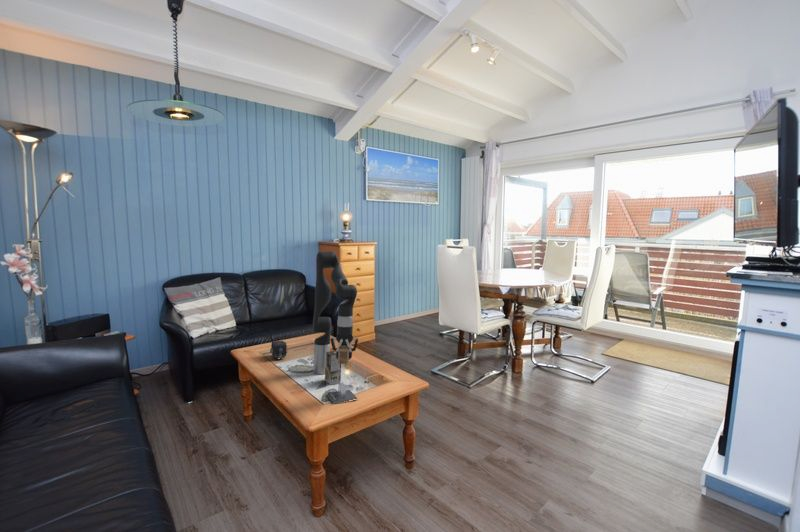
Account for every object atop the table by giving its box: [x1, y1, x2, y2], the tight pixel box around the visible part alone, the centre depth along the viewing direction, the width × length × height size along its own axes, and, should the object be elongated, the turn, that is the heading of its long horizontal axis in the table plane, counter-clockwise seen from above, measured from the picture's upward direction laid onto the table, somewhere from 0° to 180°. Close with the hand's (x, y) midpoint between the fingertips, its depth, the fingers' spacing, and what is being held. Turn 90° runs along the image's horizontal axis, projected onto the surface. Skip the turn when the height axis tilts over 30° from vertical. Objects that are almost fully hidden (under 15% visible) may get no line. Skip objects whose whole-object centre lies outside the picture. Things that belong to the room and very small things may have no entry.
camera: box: [269, 340, 288, 359], centre depth 244 cm, size 11×11×15 cm
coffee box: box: [324, 350, 342, 386], centre depth 203 cm, size 9×6×16 cm
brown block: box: [338, 345, 350, 365], centre depth 180 cm, size 7×5×8 cm
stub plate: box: [326, 382, 358, 405], centre depth 181 cm, size 12×12×7 cm
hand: (343, 358), depth 180 cm, fingers closed on brown block, 5 cm apart
